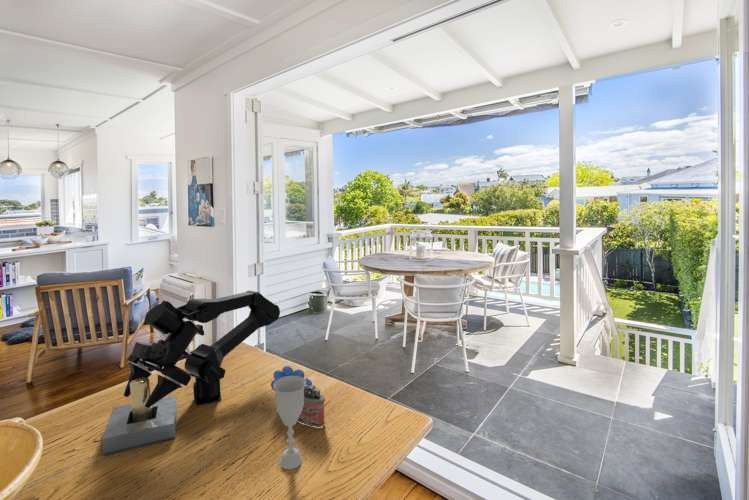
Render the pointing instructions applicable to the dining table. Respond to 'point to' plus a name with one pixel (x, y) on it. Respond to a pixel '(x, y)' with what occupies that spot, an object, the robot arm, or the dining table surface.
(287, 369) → the grapes
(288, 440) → the chalice
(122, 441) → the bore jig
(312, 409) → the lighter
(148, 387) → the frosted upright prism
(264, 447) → the dining table surface
